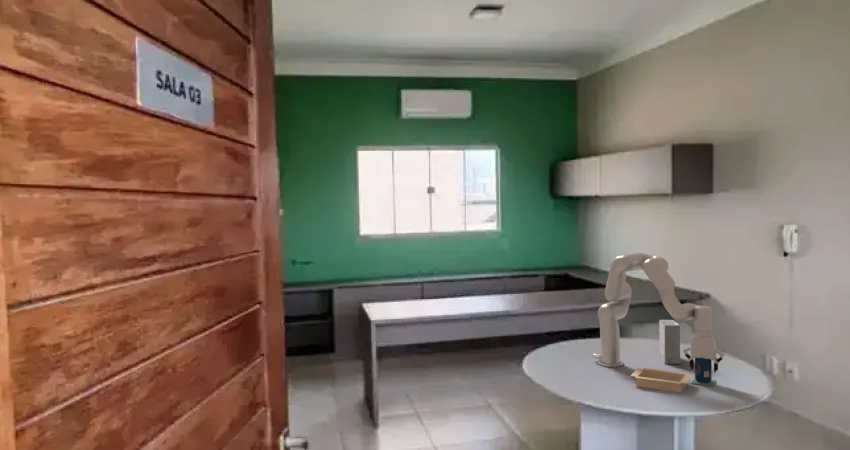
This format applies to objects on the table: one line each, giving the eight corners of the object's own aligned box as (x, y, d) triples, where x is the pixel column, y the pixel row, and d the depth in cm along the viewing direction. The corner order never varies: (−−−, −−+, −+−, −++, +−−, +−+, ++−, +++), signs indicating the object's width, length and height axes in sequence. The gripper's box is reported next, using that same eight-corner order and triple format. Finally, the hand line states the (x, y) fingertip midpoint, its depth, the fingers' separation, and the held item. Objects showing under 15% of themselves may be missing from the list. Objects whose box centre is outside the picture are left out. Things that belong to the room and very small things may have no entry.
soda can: (692, 379, 280) (692, 353, 279) (707, 378, 280) (707, 353, 279) (698, 383, 273) (698, 357, 273) (714, 383, 273) (714, 357, 272)
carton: (629, 386, 275) (629, 376, 274) (638, 376, 289) (638, 367, 289) (686, 394, 261) (686, 384, 261) (693, 383, 276) (693, 374, 275)
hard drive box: (680, 364, 306) (680, 325, 305) (664, 364, 308) (664, 325, 307) (674, 356, 321) (673, 319, 321) (659, 356, 323) (658, 319, 322)
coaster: (691, 384, 275) (691, 382, 275) (694, 378, 283) (694, 377, 283) (713, 386, 270) (713, 385, 270) (716, 381, 278) (716, 380, 278)
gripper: (681, 332, 277) (681, 369, 278) (723, 336, 267) (723, 374, 268) (684, 329, 283) (684, 365, 284) (725, 333, 274) (725, 370, 275)
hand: (703, 370), depth 276 cm, fingers open, 9 cm apart
